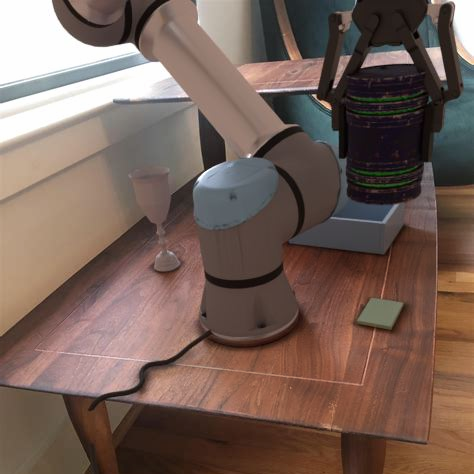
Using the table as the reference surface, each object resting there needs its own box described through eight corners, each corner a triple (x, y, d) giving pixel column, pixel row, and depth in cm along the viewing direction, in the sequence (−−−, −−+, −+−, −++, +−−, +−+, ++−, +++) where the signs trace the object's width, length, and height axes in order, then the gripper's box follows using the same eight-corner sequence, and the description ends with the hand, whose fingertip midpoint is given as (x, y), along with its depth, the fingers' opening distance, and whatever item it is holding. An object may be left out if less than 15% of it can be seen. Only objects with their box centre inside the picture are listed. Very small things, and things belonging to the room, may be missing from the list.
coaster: (391, 330, 78) (391, 326, 78) (356, 323, 80) (357, 320, 80) (403, 305, 83) (403, 302, 83) (371, 300, 85) (371, 297, 85)
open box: (384, 254, 98) (385, 223, 95) (289, 243, 106) (287, 214, 103) (403, 225, 108) (405, 195, 105) (315, 216, 116) (314, 189, 113)
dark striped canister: (430, 202, 68) (441, 72, 60) (350, 208, 69) (350, 82, 61) (412, 176, 76) (420, 60, 69) (341, 182, 77) (341, 68, 70)
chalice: (192, 259, 105) (176, 166, 96) (174, 275, 100) (156, 179, 91) (160, 255, 108) (142, 165, 99) (141, 271, 103) (120, 178, 94)
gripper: (510, -66, 56) (482, 151, 68) (306, -39, 66) (313, 146, 78) (502, -66, 51) (473, 170, 62) (281, -36, 61) (292, 162, 73)
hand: (384, 157), depth 70 cm, fingers closed on dark striped canister, 10 cm apart
